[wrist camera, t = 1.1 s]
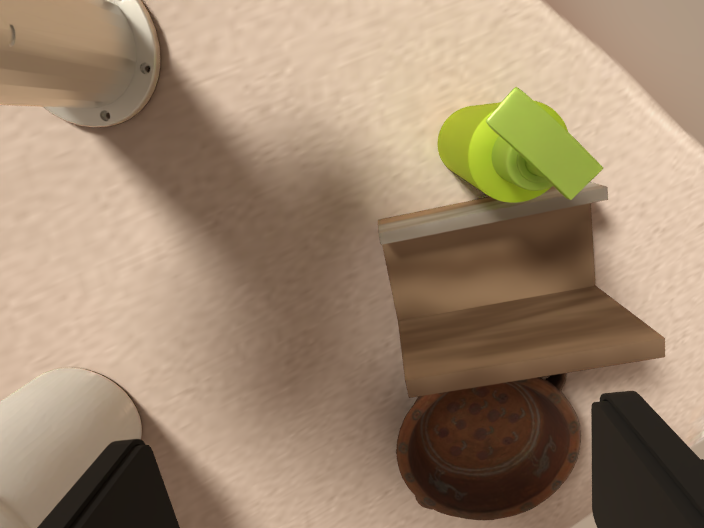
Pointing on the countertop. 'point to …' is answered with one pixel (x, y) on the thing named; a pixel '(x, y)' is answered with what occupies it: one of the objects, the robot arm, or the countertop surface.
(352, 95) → the countertop surface
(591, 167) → the soap dispenser
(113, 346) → the countertop surface
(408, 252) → the board
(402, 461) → the dish
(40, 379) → the utensil holder
